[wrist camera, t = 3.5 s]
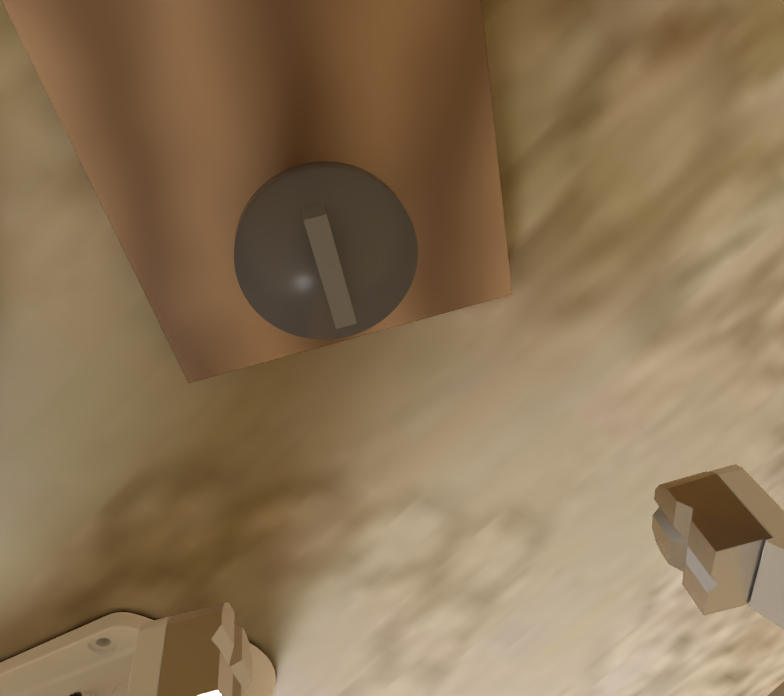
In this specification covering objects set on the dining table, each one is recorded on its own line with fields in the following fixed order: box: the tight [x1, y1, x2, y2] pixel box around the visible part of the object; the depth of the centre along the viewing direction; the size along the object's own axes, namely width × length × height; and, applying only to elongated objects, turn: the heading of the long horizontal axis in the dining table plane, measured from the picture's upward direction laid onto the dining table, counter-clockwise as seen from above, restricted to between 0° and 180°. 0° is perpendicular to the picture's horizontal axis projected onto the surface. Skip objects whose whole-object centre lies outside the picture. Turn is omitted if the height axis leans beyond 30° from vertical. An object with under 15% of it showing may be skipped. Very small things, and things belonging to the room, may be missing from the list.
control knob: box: [234, 161, 418, 340], centre depth 24 cm, size 7×7×5 cm
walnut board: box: [2, 0, 512, 383], centre depth 23 cm, size 16×26×2 cm, turn 11°
